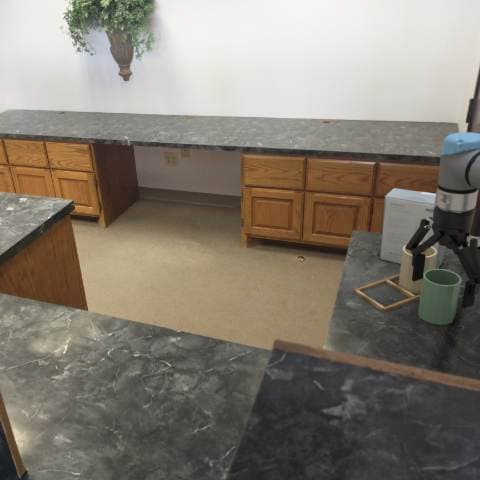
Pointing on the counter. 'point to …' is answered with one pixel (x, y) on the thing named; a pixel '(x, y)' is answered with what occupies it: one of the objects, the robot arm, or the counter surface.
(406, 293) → the cup holder
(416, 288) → the cream cup
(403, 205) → the hard drive box
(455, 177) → the robot arm
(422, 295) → the green cup
